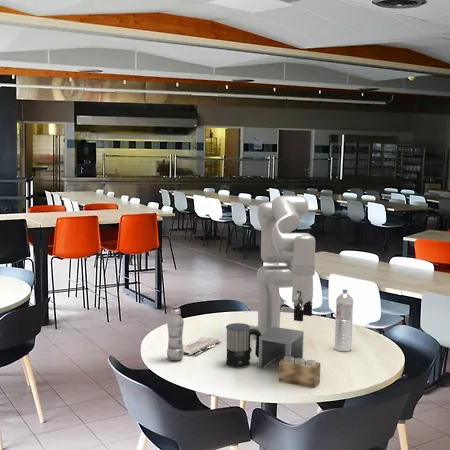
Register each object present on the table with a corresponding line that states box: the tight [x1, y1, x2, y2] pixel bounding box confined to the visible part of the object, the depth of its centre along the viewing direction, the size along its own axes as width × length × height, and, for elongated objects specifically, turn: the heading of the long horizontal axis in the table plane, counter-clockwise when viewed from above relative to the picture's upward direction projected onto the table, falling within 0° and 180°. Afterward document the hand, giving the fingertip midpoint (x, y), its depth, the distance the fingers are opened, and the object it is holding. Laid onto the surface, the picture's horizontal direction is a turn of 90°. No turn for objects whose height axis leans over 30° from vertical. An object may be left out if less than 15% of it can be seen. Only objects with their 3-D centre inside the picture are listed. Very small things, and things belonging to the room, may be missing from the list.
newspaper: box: [183, 337, 221, 356], centre depth 259 cm, size 23×12×2 cm, turn 148°
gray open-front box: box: [257, 327, 305, 370], centre depth 238 cm, size 12×15×12 cm
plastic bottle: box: [166, 307, 185, 361], centre depth 242 cm, size 6×7×20 cm
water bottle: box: [334, 289, 354, 352], centre depth 259 cm, size 7×7×25 cm
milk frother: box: [225, 322, 261, 369], centre depth 243 cm, size 14×16×15 cm
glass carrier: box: [278, 356, 321, 389], centre depth 222 cm, size 13×6×8 cm, turn 63°
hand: (303, 318), depth 225 cm, fingers open, 9 cm apart
